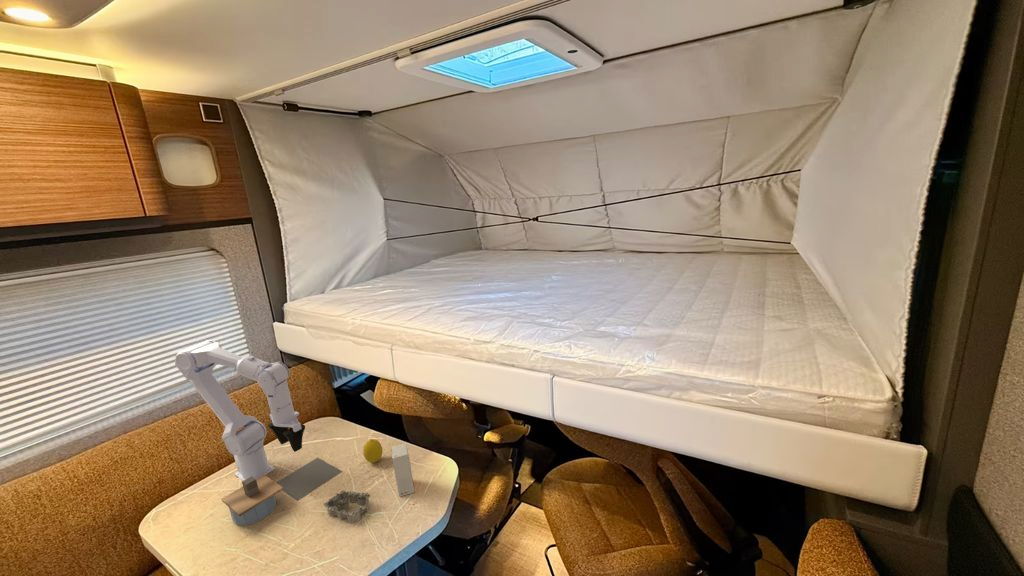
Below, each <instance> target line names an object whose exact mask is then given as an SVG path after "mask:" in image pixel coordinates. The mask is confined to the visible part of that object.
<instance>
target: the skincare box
mask: <svg viewBox="0 0 1024 576" xmlns="http://www.w3.org/2000/svg"><path fill="white" fill-rule="evenodd" d="M391 456H392V457H391V458H392V465H393V471H394V477H395V482H396V489H397V493H398V497H403V496H407V495H410V494H414V493H415V488H414V478H413V473H412V466H411V460H410V455H409V448H408V443H402V444H401V443H400V444H397V445H393V446H391Z"/></svg>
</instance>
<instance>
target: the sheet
mask: <svg viewBox="0 0 1024 576" xmlns="http://www.w3.org/2000/svg"><path fill="white" fill-rule="evenodd" d="M276 482H277V481H275V480H273V479H271V478H270V477H268V476H267V475H263V476H261V477H259V478H257V479H255V478H254V477H252V476H251V477H249V478H247V479H246V480H244V481H243V480H241V484H242V487H240V488H238V489H237V490H235V491H233V492H231V493H229V494H228V495H225V496H224V497H222V498H220V499H221V502H222V503H223V504H225V505H226V507H228V509H229V508H230V509H232V510H233V511H234V512H235V513H236V514H237V515H238V516H241V515H243V514H245V513H246V512H248V511H249V510H251V509H253V508H254V507H256V506H258V505H259V504H261V503H262V502H264V501H266V500H267V499H269V498H270V497H272V496H274V495H275V496H276V495H277V494H279V493H281V492H283V491H282V490H283V487H282V486H280V485H279V484H277V483H276Z"/></svg>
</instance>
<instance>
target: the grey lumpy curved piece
mask: <svg viewBox="0 0 1024 576" xmlns="http://www.w3.org/2000/svg"><path fill="white" fill-rule="evenodd" d="M370 497H371V494H370V493H368V492H359V491H358V492H355V491H346V490H343V489H342V490H340V492H339V493H336V494H335V495H334V496H332V497H331V498H329V500H327V501H326V502H324V503H323V505H324V507H326V508H327V514H328V515H329V517H330V518H332V517H333V516H336V515H337V518H338V520H340V521H342V520H345V519H346V518H347V522H348V524H352V523H354V522H358V521H360V520H361V517H362V516H361V514H362V513H364V512H369V510H370V509H371V508H370V501H369V499H370ZM356 502H357V503H358V505H359V507H358V508H356V507H355V508H353V509H351V510H350V512H349V511H348V510H349V509H350V505H349V503H351V504H354V503H356Z"/></svg>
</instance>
